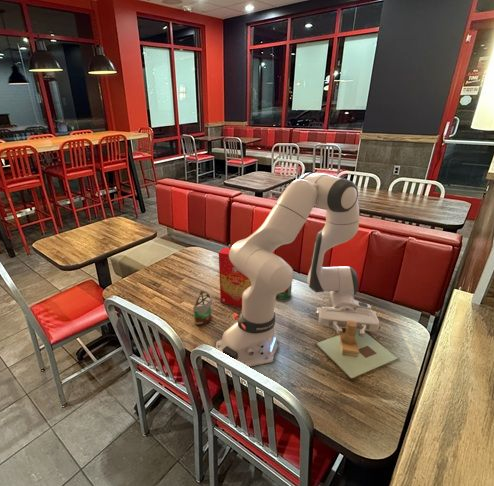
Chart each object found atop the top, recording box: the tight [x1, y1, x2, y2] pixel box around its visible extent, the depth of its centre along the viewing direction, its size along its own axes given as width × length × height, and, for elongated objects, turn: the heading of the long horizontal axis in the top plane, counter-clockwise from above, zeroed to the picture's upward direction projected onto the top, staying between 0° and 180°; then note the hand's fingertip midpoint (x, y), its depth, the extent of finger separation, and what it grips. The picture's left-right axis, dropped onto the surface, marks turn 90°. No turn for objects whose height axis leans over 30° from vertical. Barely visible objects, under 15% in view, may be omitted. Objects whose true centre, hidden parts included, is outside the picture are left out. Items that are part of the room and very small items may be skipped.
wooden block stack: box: [338, 320, 359, 357], centre depth 108 cm, size 9×5×10 cm, turn 167°
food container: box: [192, 289, 213, 326], centre depth 127 cm, size 12×6×10 cm, turn 168°
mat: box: [316, 329, 398, 379], centre depth 108 cm, size 20×17×1 cm
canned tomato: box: [275, 282, 293, 302], centre depth 138 cm, size 8×8×11 cm
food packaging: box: [218, 247, 251, 308], centre depth 132 cm, size 15×5×25 cm, turn 66°
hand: (350, 334), depth 106 cm, fingers open, 6 cm apart
